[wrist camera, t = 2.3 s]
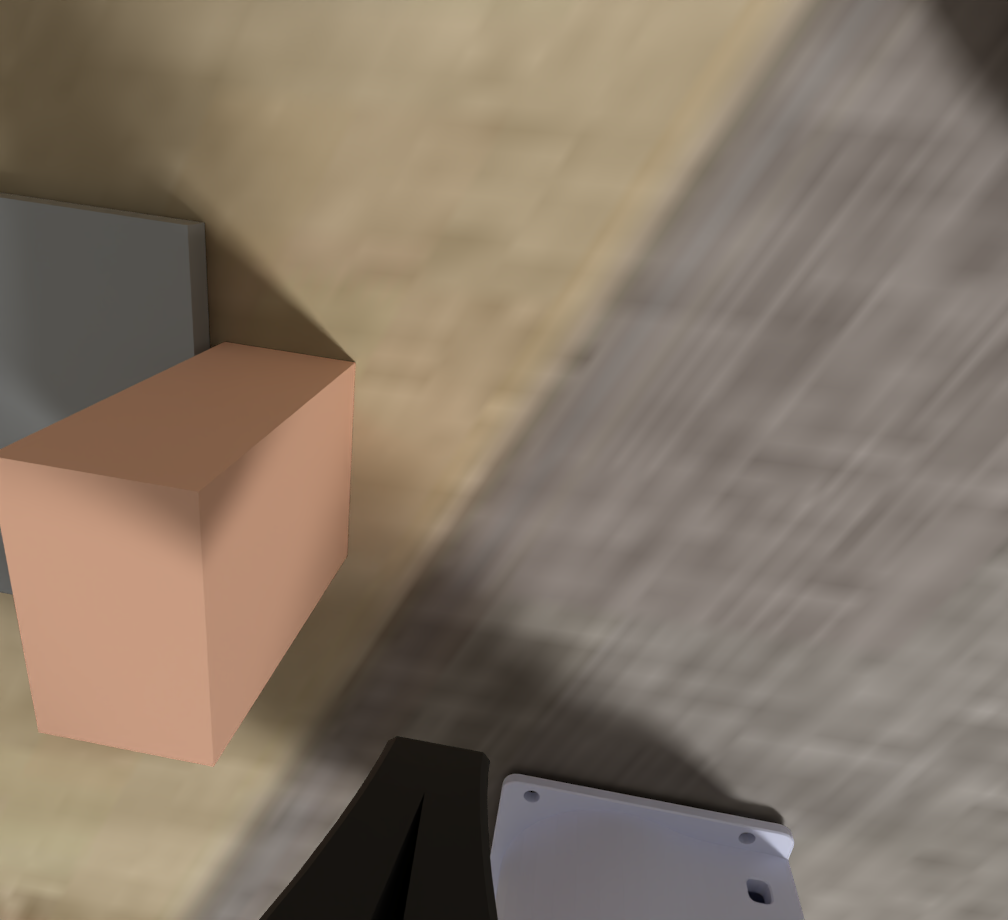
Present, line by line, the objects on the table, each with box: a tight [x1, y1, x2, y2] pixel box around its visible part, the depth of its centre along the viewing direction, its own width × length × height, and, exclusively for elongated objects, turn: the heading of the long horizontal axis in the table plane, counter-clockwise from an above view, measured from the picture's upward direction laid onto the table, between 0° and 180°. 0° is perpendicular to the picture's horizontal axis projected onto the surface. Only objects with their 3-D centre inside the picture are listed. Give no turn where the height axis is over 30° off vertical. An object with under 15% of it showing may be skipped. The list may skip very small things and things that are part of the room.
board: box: [0, 193, 210, 594], centre depth 20 cm, size 8×12×1 cm, turn 173°
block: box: [0, 342, 355, 767], centre depth 16 cm, size 4×6×8 cm, turn 173°
